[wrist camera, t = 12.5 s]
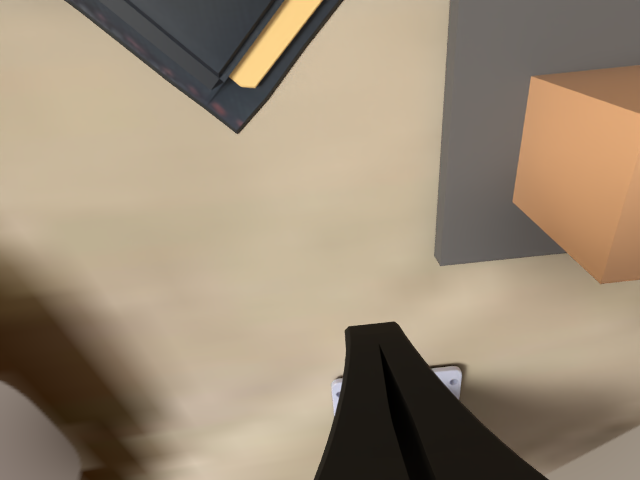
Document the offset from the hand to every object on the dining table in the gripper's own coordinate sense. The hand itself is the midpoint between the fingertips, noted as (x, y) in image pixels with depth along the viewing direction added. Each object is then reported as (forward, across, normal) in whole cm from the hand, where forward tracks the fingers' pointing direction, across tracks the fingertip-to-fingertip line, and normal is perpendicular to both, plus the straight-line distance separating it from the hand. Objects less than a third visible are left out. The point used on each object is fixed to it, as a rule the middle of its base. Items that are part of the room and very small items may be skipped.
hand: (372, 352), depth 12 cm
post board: (+10, -11, -2) cm, 15 cm away
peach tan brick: (+9, -11, -2) cm, 15 cm away
